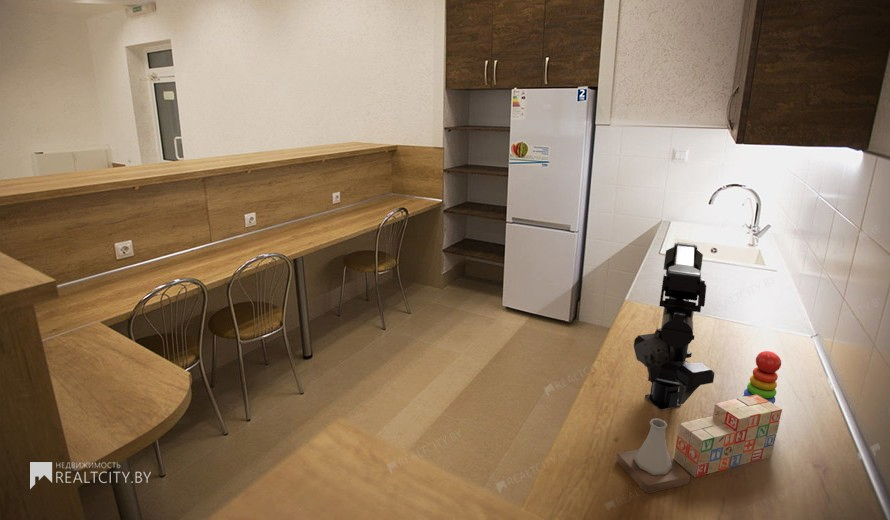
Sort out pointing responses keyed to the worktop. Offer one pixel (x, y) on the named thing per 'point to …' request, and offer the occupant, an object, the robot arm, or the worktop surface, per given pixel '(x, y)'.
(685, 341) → the robot arm
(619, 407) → the worktop surface
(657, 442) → the flask
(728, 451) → the stack of blocks
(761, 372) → the stacking toy
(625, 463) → the plinth
